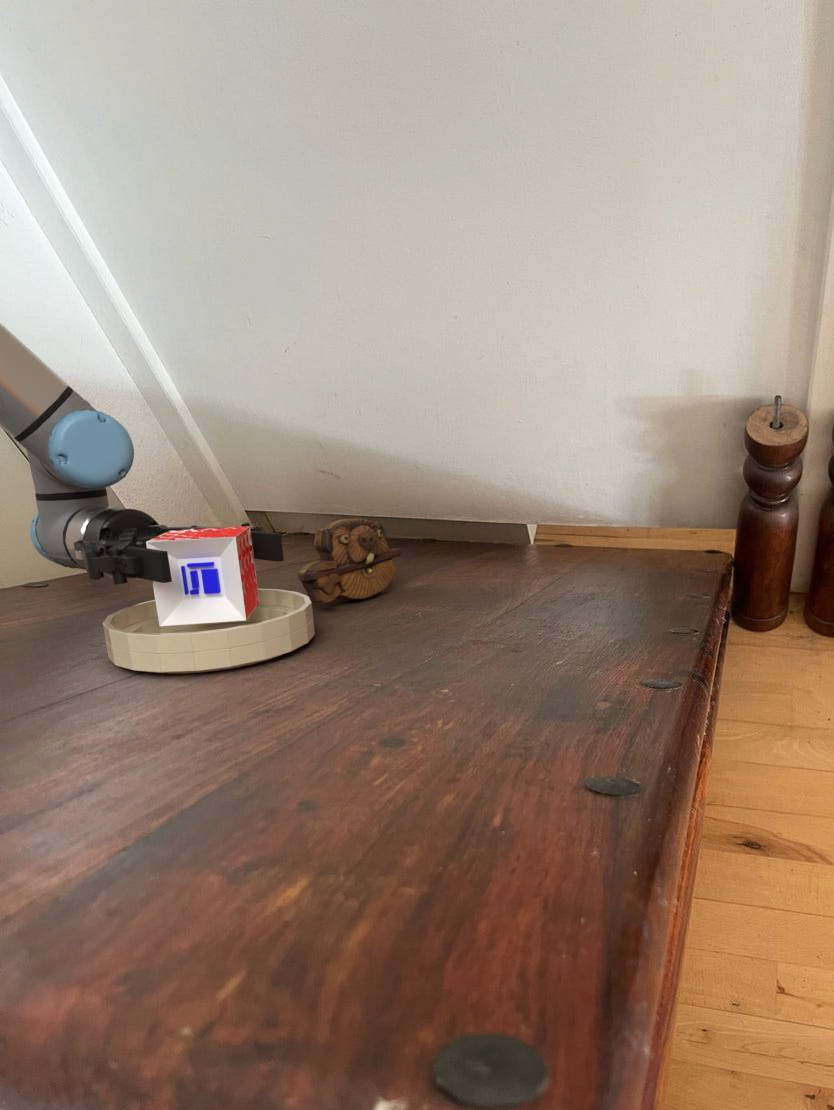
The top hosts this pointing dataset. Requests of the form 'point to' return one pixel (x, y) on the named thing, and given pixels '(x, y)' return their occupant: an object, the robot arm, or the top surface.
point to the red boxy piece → (206, 576)
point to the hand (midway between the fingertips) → (226, 556)
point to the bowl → (209, 636)
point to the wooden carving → (349, 562)
